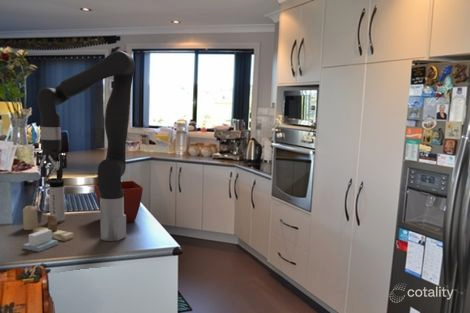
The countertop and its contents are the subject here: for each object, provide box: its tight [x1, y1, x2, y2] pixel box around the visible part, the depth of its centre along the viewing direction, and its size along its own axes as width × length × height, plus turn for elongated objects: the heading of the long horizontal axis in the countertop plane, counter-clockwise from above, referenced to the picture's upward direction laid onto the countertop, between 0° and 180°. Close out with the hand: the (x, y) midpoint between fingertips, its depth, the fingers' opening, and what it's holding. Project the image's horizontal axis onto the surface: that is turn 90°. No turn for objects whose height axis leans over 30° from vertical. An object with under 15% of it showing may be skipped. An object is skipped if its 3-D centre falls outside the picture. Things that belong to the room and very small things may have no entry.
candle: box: [22, 204, 39, 231], centre depth 173 cm, size 6×6×10 cm
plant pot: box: [93, 180, 144, 223], centre depth 189 cm, size 19×19×17 cm
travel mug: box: [48, 177, 66, 224], centre depth 183 cm, size 6×7×20 cm
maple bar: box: [32, 214, 74, 242], centre depth 163 cm, size 18×4×9 cm, turn 67°
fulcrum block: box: [22, 229, 59, 253], centre depth 151 cm, size 8×9×6 cm
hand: (51, 177), depth 161 cm, fingers open, 8 cm apart
